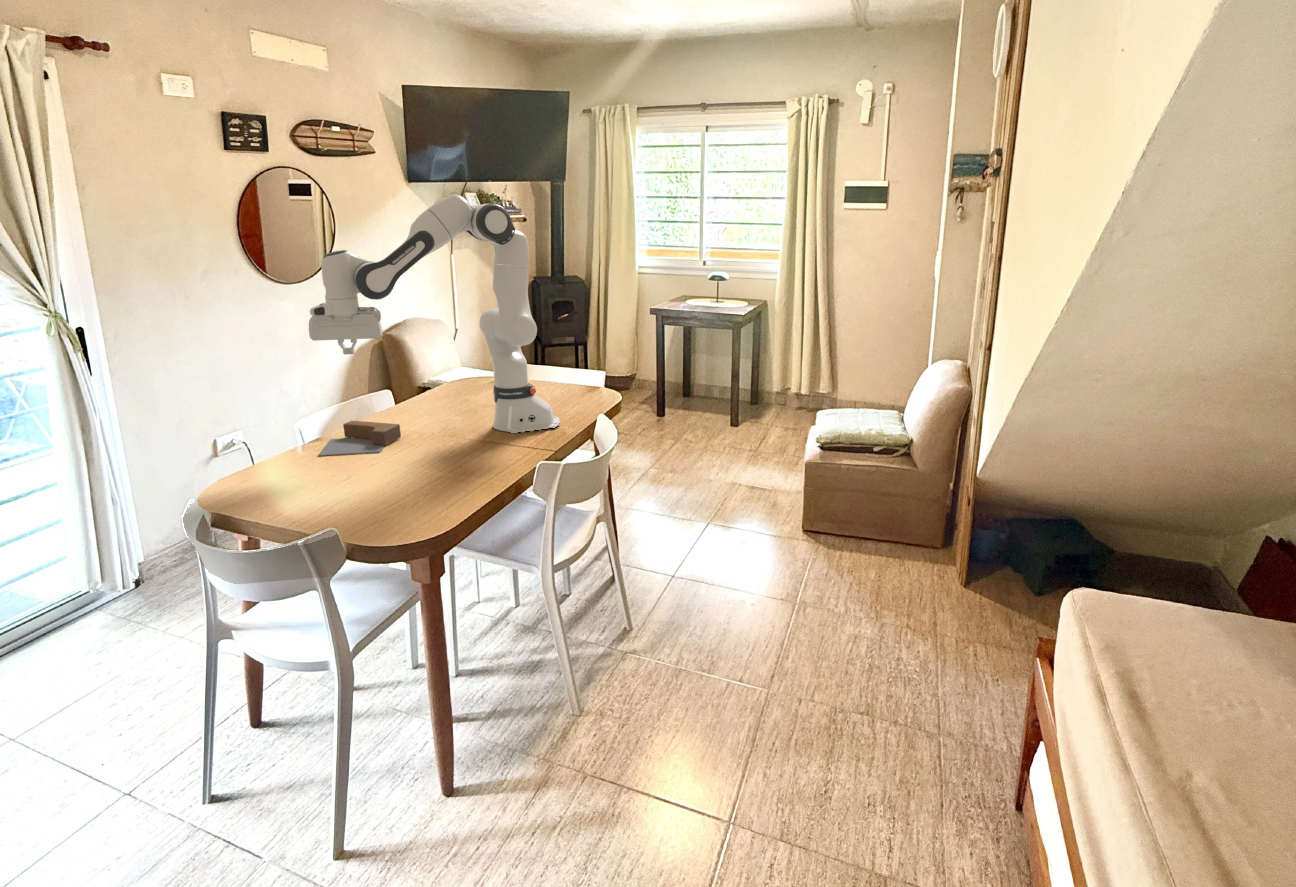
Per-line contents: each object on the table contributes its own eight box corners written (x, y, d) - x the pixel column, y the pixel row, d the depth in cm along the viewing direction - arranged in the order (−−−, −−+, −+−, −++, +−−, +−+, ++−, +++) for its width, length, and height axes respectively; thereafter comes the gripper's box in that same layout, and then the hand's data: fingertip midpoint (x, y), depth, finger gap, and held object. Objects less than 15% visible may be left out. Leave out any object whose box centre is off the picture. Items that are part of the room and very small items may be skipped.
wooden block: (383, 432, 229) (333, 428, 233) (385, 445, 230) (335, 441, 235) (400, 423, 237) (351, 420, 242) (401, 437, 238) (353, 433, 243)
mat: (389, 436, 240) (389, 435, 240) (380, 452, 225) (380, 451, 225) (330, 440, 237) (330, 439, 237) (318, 456, 222) (318, 455, 222)
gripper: (381, 305, 223) (386, 350, 227) (309, 307, 220) (316, 353, 224) (377, 308, 217) (383, 354, 221) (303, 310, 214) (311, 357, 218)
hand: (349, 354), depth 222 cm, fingers closed
